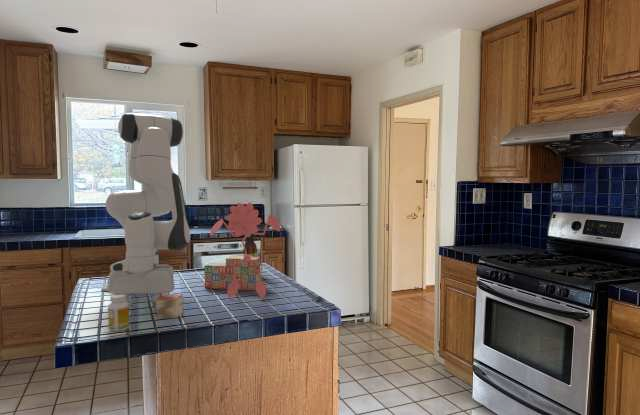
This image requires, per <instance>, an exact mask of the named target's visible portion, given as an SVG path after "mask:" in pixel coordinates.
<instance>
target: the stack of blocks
mask: <svg viewBox="0 0 640 415" xmlns="http://www.w3.org/2000/svg"><path fill="white" fill-rule="evenodd" d="M243 257H244V256H243V255H230V256H228V257H225V262H209V263H206V264H204V266H203V268H204V269H203V271H204V288H205V289H219V290H220V289H221V290H222V289H223V290H228V287H229V285H230V284H231V283H232V282H233V281H234V273H235V280H236V281H238V283H239V288H238V290H242V291H243V290H246V291H256V283H257V282H258V281H260V275H261V264H258V263H256V262H259V263H261V257H260V256H258V257H253V256H250V257H251V260H254V261H256V262H254V261H251V260H250V261H249V262H245V261H244V260H242V259H243ZM240 260H242V261H240ZM238 261H240V262H238ZM236 262H238V263H236ZM234 263H236V264H234ZM233 264H234V273H233Z"/></svg>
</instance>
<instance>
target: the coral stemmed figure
mask: <svg viewBox="0 0 640 415" xmlns="http://www.w3.org/2000/svg"><path fill="white" fill-rule="evenodd" d="M236 204H237V205H231V206H230V207H229V211H230V214H227V215H226V217H225V220H226V221H228V224H227V223H226V221H224V219H223V218H221V219H220V220H218V221H216V222H215V223H214V224H213V226H212V227H211V230H210V236H213V235H214V234H216V233H217V232H218V231H219V230H220V229H221V227H222V226H223V225H224V226H225V227H226V228H227V230H228V231H229V233H231V234H232V236H233V237H234V238H236V237H237V238H238V237H240V236H244V238H242V241H241V243H242V246H243V249H244V250H245V253H246V255H244V257H243V259H242V260H244V261H245V262H249V261H250V260H251V257H250V255H248V254H247V252H246V249H245V239H246V237H250V236H251V234H254V235H259V236H261V235H262V236H265V234H266V231H267V227H268V226H269V227H271V228H272V229H273V230H275V231H277V232H278V233H279V232H280V231H281V223H280V221H279V220H278V219H277V217H275V216H274V215H270V214H268V216H267V221H266V224H265V228H264V230H263V232H259V228H258V225H260V224H261V223H262V222H263V219H262V218H261V217H258V216H259V213H260V212H259V210H258V209H254V205H253V203H252V202H248V203H247V204H246V205H245V204H243V203H241V202H237V203H236ZM232 230H233V231H232ZM242 260H240V261H242ZM240 261H238V262H240ZM251 261H254V260H251ZM238 262H236V263H238ZM254 262H256V261H254ZM236 263H234V264H236ZM256 263H258V264H260V281H258V282H257V283H256V290H255V291H256V293H257V295H258V296H259V297H261V299H264V298H265V296H266V293H267V287H266V284H265V283H264V282H263V281H262V276H263V275H262V273H263V266H264V265H263V263H261V262H260V263H259V262H256ZM234 264H233V273H234ZM238 288H239V283H238V281H236V280H235V273H234V281H233V282H232V283H231V284H230V285H229V287H228V289H226V290H227V291H226V294H227V298H228V300H229V299H231V298H232V297H233V296H234V295H236V296H239V292H238V290H239V289H238ZM221 295H223V292H222V293H221ZM270 303H271V301H269V302H266V303H264V305H266V304H270ZM227 305H228V306H229V304H227ZM262 305H263V304H262V303H261V304H253V305H249V307H254V306H262ZM231 306H233V307H237V305H235V304H234V305H233V304H231ZM240 307H242V308H243V305H240Z"/></svg>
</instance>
